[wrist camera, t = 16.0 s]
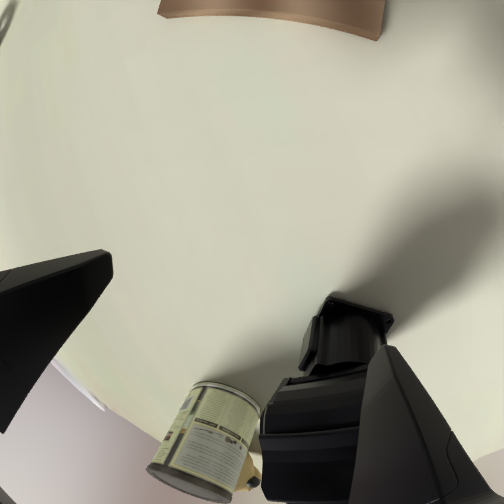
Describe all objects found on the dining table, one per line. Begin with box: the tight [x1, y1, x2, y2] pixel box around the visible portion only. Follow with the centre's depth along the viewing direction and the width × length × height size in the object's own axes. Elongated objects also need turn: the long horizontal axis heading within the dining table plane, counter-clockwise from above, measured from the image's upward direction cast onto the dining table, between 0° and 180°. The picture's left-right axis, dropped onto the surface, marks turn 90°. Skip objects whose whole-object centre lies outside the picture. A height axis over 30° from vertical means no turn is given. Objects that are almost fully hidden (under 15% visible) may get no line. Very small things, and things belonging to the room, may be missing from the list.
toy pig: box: [234, 449, 261, 492], centre depth 35 cm, size 10×12×11 cm
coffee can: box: [146, 382, 261, 504], centre depth 27 cm, size 10×10×14 cm
